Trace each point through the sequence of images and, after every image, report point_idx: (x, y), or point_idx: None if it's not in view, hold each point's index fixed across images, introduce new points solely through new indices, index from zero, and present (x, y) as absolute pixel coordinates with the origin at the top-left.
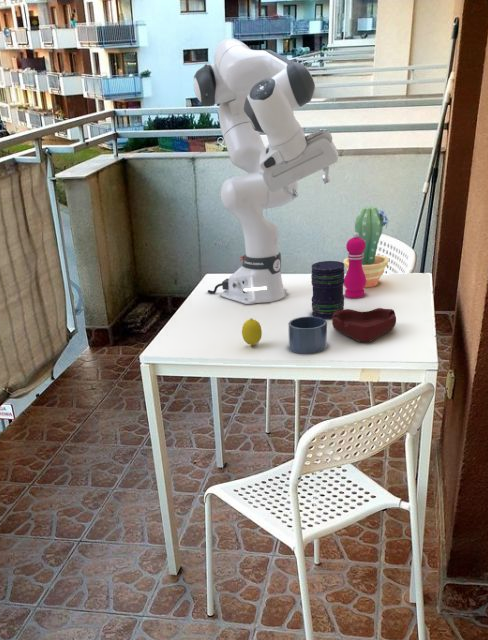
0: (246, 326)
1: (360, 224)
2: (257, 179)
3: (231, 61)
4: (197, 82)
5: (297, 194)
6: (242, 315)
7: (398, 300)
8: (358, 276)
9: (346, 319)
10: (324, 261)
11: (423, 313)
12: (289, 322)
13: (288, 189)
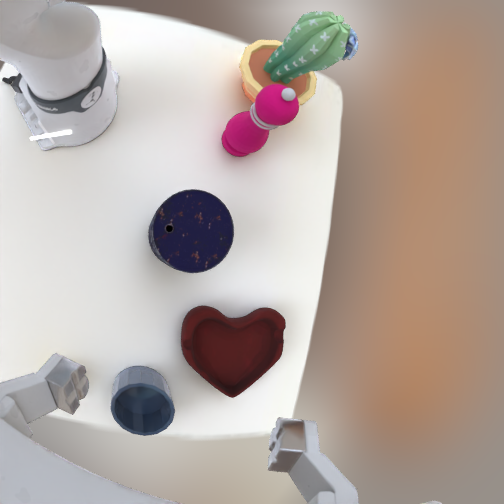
0: None
1: (304, 38)
2: None
3: None
4: None
5: (84, 374)
6: (28, 212)
7: (300, 189)
8: (256, 144)
9: (206, 320)
10: (189, 190)
11: (321, 261)
12: (112, 406)
13: (30, 409)
